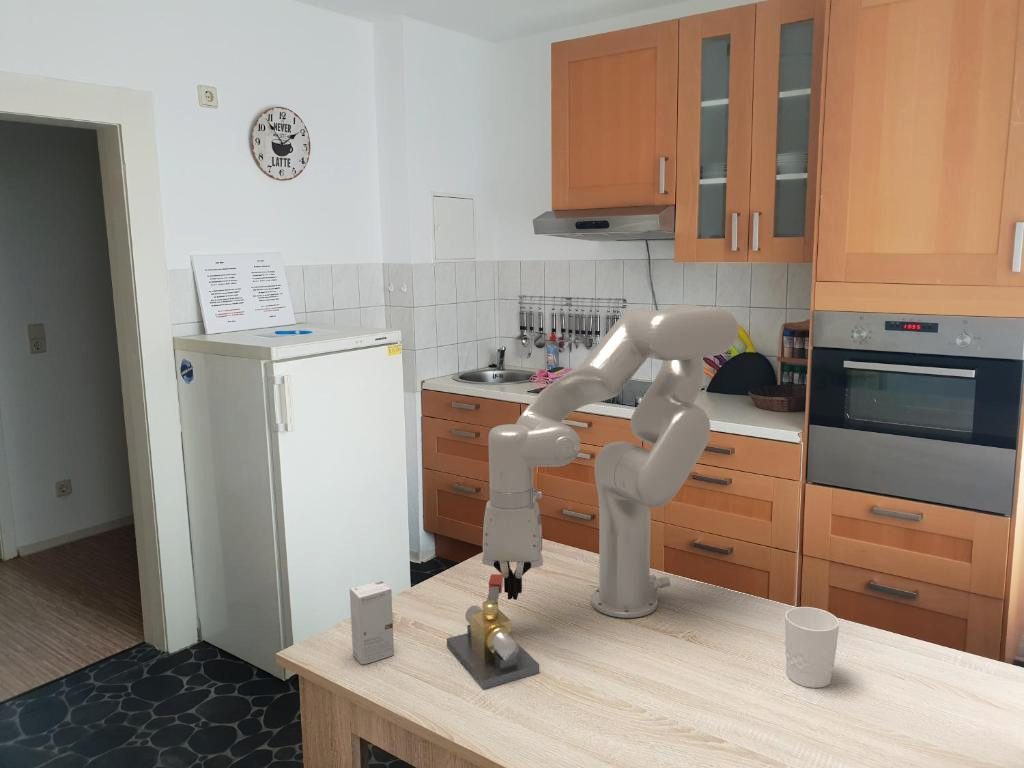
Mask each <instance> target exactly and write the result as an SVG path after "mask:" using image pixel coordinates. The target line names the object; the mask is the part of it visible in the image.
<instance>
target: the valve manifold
mask: <svg viewBox="0 0 1024 768" xmlns="http://www.w3.org/2000/svg"><path fill="white" fill-rule="evenodd" d="M464 618H465V620H466V622H468V624H467V626H466V627H467V628H466V629H467V633H462V634H458V635H455V636H451V637H448V638H446V647H447V649H448V650H449V651H450V652H451V653H452V654H453V655H454V657H455V658H456V659H457V660H458V661H459V662H460V664H461V665H462V666H463V667H464V668H465V669H466V670H465V671H467V672H468V673H469V674H470V676H471V677H472V678H473V679H474V680H475V682H476V683H477V684H478V685H479V686H480V687H481V689H482V690H483V691H484V690H487V689H491V688H493V687H497V686H501V685H503V684H507V683H511V682H513V681H517V680H520V679H523V678H526V677H530V676H534V675H537V674H539V673H540V663H539V662H537V660H536V659H534V658H533V657H532V656H531V655H530V654H529V653H528V651H526V650H525V648H523V647H522V646H521V645H520V644H519V643H518V642H517V641H516V640H515V639H514V636H513V633H512V620H511V619H510V618H509V617H508V616H506V614H504V613H503V612H502V611H501V610H500V609H499V608H498V617H497V618H495V619H485V618H484V617H483V608H482V607H480V606H479V605H472V606H470V607H469V608H468V609H467V610H466V611H465V617H464Z"/></svg>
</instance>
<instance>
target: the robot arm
mask: <svg viewBox="0 0 1024 768" xmlns="http://www.w3.org/2000/svg"><path fill="white" fill-rule="evenodd" d="M739 332H740V330H739V323H738V321H737V319H736V317H735V316H734V314H733V313H732V312H730V311H729V310H727V309H724V308H721V307H715V306H705V305H697V304H688V303H687V304H686V303H683V304H681V303H680V304H673V305H671V306H668V307H667V308H665V310H658V309H657V310H654V309H646V308H634V309H633V308H632V309H629V310H627V311H626V312H624V313H623V314H622V315H620V317H619V318H618V319H617V320H616V322H615V323H614V324H613V325H612V326H611V328H610V329H609V330H608V331H607V332H606V333H605V335H604V336H603V337H602V339H601V340H600V341H599V342H598V343H597V345H596V346H595V347H594V348H593V349H592V350H591V352H590V353H589V355H588V356H587V357H586V358H585V359H584V360H583V362H581V363H580V365H578V366H577V367H575V368H574V369H572V370H570V371H568V372H567V373H565V374H564V375H562V376H561V377H559V378H557V380H554V381H553V382H551V383H550V384H549V385H547V386H545V388H544V389H542V390H541V391H540V392H539V393H538V394H536V396H535V397H534V398H533V400H532V401H531V402H530V403H529V404H528V405H527V406H526V407H525V409H524V411H523V412H522V413H521V414H520V416H519V417H518V419H517V421H516V422H515V423H514V424H513V423H510V424H500V425H497V426H494V427H493V428H491V429H490V431H489V433H488V474H489V475H488V476H489V500H488V501H487V502H486V504H485V509H484V516H483V531H482V554H483V555H482V559H481V564H483V565H485V566H489V567H494V568H495V569H496V571H498V572H499V574H502V577H503V592H504V593H507V600H512V599H513V600H514V601H515V600H518V597H519V594H522V592H523V575H525V574H526V573H527V572H528V571H529V570H530V569H536V568H540V567H542V566H543V565H544V558H543V555H542V551H543V534H542V533H543V531H542V529H543V528H542V518H541V514H540V513H541V511H540V507H539V502H538V501H536V500H539V499H543V498H542V495H543V492H542V490H538V489H536V488H534V486H535V485H534V468H535V467H536V468H541V467H543V468H544V467H545V468H546V467H547V468H548V467H550V468H556V467H557V468H558V467H563V466H566V465H569V464H570V463H572V462H573V461H575V459H576V458H577V457H578V455H579V453H580V451H581V439H580V437H579V434H578V433H577V432H576V430H574V429H573V428H572V427H570V426H569V425H567V424H565V423H562V422H563V421H564V419H566V418H567V417H568V416H570V414H572V413H573V412H575V411H577V410H579V409H581V408H582V407H585V406H588V405H592V404H595V403H601V402H604V401H607V400H610V399H613V398H616V397H617V396H618V395H619V394H620V393H621V392H622V390H623V389H624V388H625V387H626V385H627V384H628V383H629V382H630V380H631V379H632V378H633V377H634V376H635V374H636V373H637V372H638V370H639V369H640V368H641V366H642V365H644V363H645V361H647V359H649V358H650V359H653V360H660V361H662V364H661V366H660V369H659V371H658V372H657V374H656V376H655V378H654V380H653V381H652V383H651V384H650V386H649V388H648V389H647V390H646V392H645V394H644V395H643V396H642V399H641V400H640V402H639V403H638V404H637V406H636V408H635V410H634V411H633V413H632V416H631V419H630V425H629V426H630V431H631V432H632V434H633V435H634V436H635V437H636V438H637V439H638V440H640V441H642V442H644V443H645V444H648V445H650V446H653V447H652V448H651V450H650V449H648V448H645V447H644V446H640V445H637V444H635V443H632V442H627V441H624V440H623V441H622V440H621V441H620V440H618V441H617V440H616V441H612V442H609V443H607V444H606V445H604V446H603V447H602V448H601V449H600V450H599V452H598V453H597V455H596V458H595V462H594V467H593V468H594V480H595V484H596V491H597V496H598V509H599V512H598V514H599V515H598V516H599V522H598V523H599V525H598V527H599V528H598V530H599V533H598V534H599V535H598V536H599V538H598V539H599V542H598V543H599V545H598V546H599V550H598V552H599V553H598V555H599V557H598V558H599V561H598V564H599V566H598V567H599V568H598V570H599V572H598V577H599V578H598V579H599V580H598V582H599V583H598V584H599V585H598V588H596V589H595V590H594V591H592V593H591V595H590V603H591V605H592V606H593V608H594V609H595V610H597V612H600V613H602V614H604V615H606V616H610V617H615V618H624V619H632V618H641V617H644V616H646V615H647V616H648V615H649V614H651V613H653V612H654V611H655V610H656V609H657V607H658V597H657V595H656V594H655V593H656V592H657V591H658V589H663V588H664V589H665V588H667V587H670V586H671V581H670V578H669V577H668V576H661V577H660V578H657V577H656V575H655V574H650V572H651V569H650V568H651V565H650V564H651V563H650V562H651V561H650V560H651V524H652V523H651V522H652V521H651V511H650V508H654V509H657V508H661V507H663V506H666V505H667V504H669V503H670V502H671V501H672V500H673V499H674V497H676V495H677V494H678V493H679V491H680V490H681V488H682V486H683V485H684V483H685V481H686V480H687V478H688V477H689V475H690V473H691V472H692V471H693V469H694V467H695V465H697V462H698V461H699V459H700V458H701V456H702V454H703V453H704V451H705V449H706V447H707V445H708V442H709V439H710V435H711V422H710V419H709V418H710V417H709V416H708V414H707V413H706V411H705V410H704V409H703V408H702V407H700V406H698V405H697V404H695V401H696V399H697V398H698V396H699V394H700V392H701V391H702V388H703V385H704V383H705V367H704V360H703V359H704V358H708V357H714V356H715V357H716V356H720V355H723V354H725V353H726V352H728V351H730V349H732V348H733V346H734V345H735V343H736V342H737V340H738V336H739ZM511 563H516V567H515V570H514V571H513V570H512V568H511Z"/></svg>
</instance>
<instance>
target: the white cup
mask: <svg viewBox="0 0 1024 768" xmlns="http://www.w3.org/2000/svg"><path fill="white" fill-rule="evenodd" d="M839 628H840V621H839V619H838V617H837V616H835V614H833V613H831V612H829V611H827V610H824V609H821V608H818V607H817V608H816V607H810V606H798V607H793V608H790V609H789V610H787V611H786V612H785V630H784V631H785V632H784V633H785V635H784V636H785V637H784V638H785V641H784V643H785V659H786V661H785V662H786V663H785V665H786V666H785V668H786V669H785V672H786V675H787V677H788V679H790V680H791V681H792V682H793V683H795V684H798V685H799V686H802V687H805V688H813V689H817V688H818V689H819V688H820V689H821V688H825V687H827V686H829V685H830V684H831V683H832V679H833V673H834V667H835V663H836V662H835V661H836V655H837V654H836V653H837V647H838V646H837V645H838V638H839V637H838V636H839Z"/></svg>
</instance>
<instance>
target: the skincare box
mask: <svg viewBox="0 0 1024 768" xmlns="http://www.w3.org/2000/svg"><path fill="white" fill-rule="evenodd" d="M392 594H393V593H392V588H391V587H389V586H388V585H387V584H386V583H385V582H383V581H382V580H380V581H375V582H371V583H365V584H363V585H360V586H356V587H350V588H349V598H350V599H349V602H350V603H349V604H350V606H349V607H350V623H351V626H350V628H351V641H352V643H351V644H352V656H354V657H355V659H356V660H357V662H358V663H360V665H362V666H364V665H366V664H369V663H373V662H377V661H380V660H383V659H387V658H390V657H393V656H394V654H395V650H394V649H395V646H394V645H395V642H394V626H393V625H394V624H393V623H394V622H393V600H392V599H393V598H392V597H393V595H392Z"/></svg>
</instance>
